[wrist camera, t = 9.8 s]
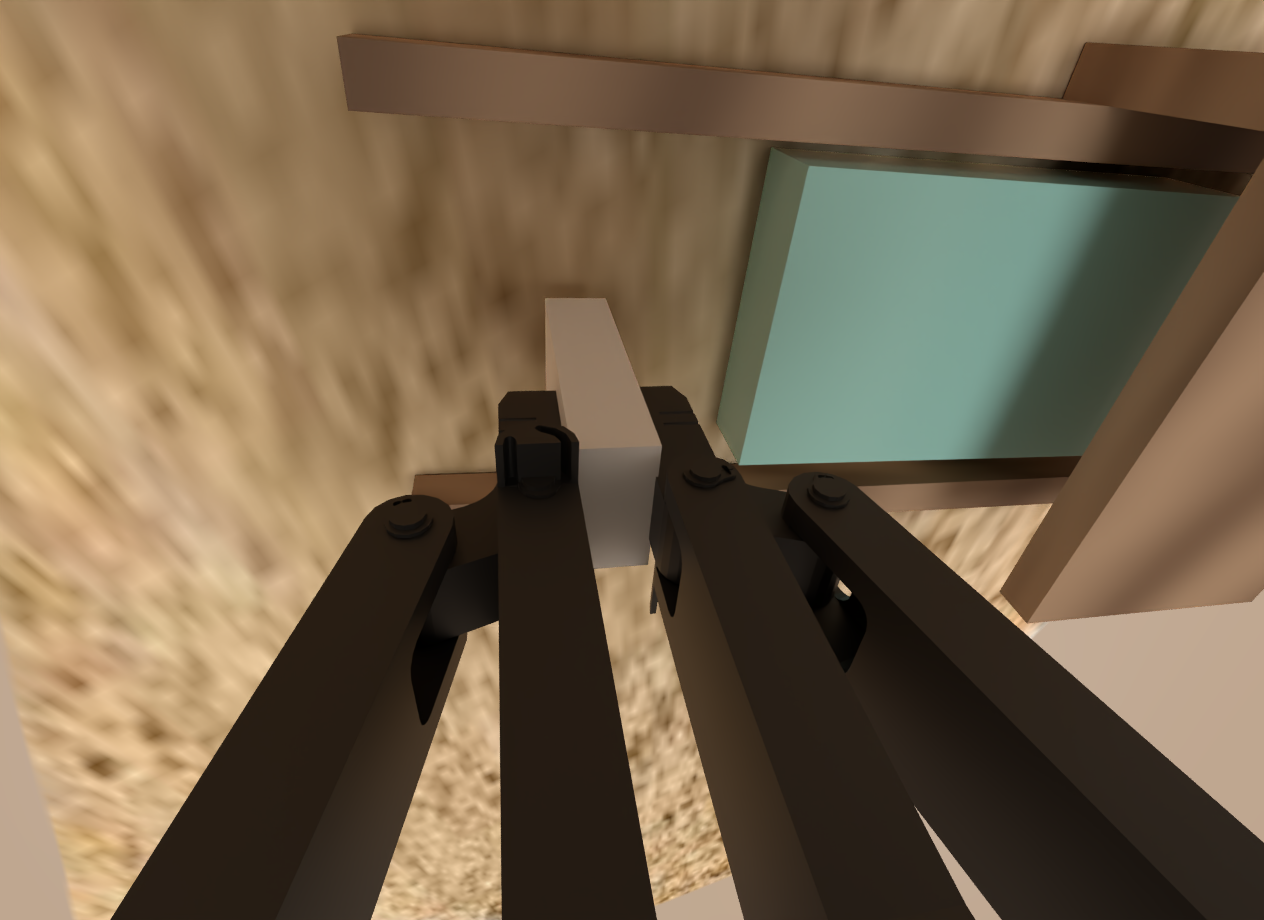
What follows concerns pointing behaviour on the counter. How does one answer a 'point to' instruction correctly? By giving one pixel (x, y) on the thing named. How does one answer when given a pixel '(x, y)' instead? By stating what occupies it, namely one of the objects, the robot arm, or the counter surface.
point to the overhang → (1001, 126)
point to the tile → (949, 305)
